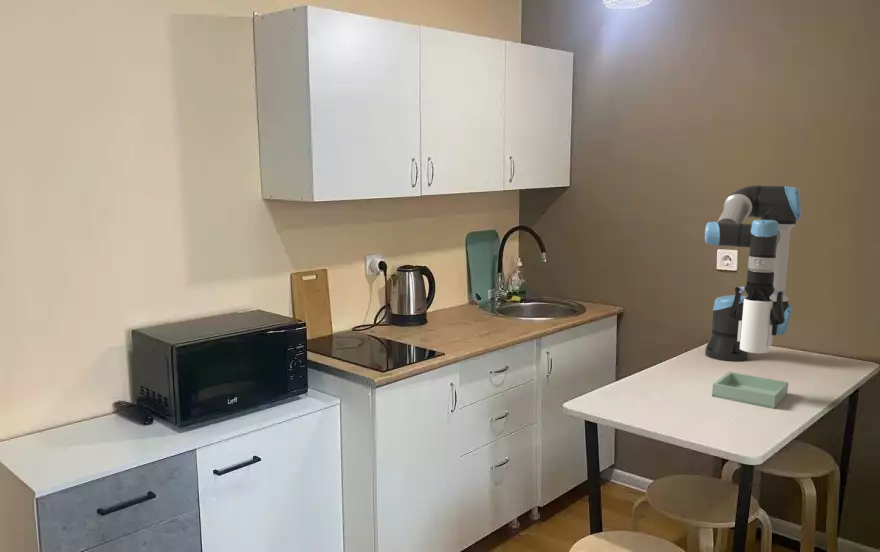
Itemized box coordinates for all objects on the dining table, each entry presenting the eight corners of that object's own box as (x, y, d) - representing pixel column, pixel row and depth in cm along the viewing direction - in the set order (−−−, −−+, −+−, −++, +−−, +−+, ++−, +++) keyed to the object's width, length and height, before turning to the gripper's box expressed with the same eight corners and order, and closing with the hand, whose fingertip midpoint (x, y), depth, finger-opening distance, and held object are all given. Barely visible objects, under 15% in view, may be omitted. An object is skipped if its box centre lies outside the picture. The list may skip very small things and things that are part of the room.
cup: (763, 347, 228) (767, 297, 226) (772, 354, 220) (777, 302, 218) (736, 346, 229) (740, 296, 226) (744, 352, 221) (748, 301, 218)
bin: (728, 383, 239) (729, 371, 238) (787, 394, 228) (788, 382, 228) (711, 396, 225) (712, 383, 224) (773, 408, 214) (775, 395, 214)
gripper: (722, 268, 224) (716, 339, 227) (795, 275, 212) (788, 350, 215) (728, 266, 230) (723, 335, 233) (801, 272, 218) (794, 346, 221)
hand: (754, 342), depth 224 cm, fingers closed on cup, 8 cm apart
